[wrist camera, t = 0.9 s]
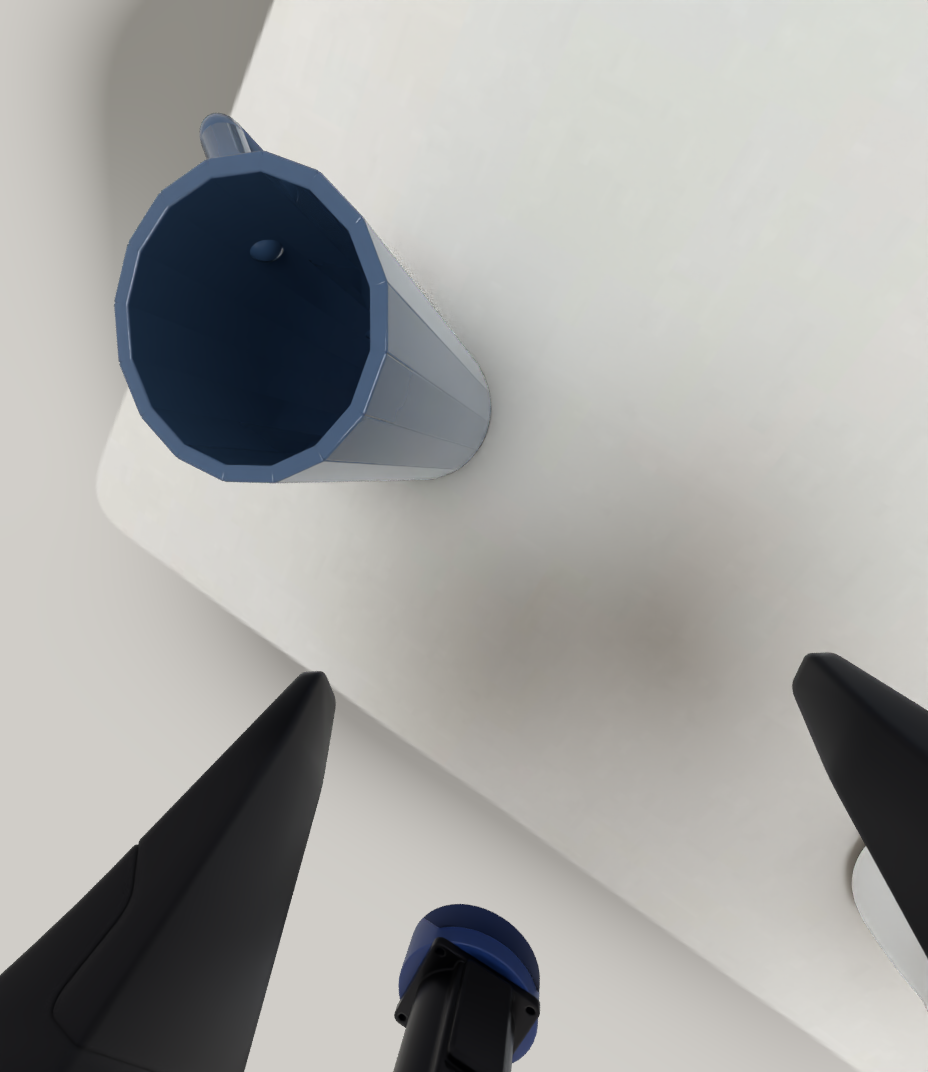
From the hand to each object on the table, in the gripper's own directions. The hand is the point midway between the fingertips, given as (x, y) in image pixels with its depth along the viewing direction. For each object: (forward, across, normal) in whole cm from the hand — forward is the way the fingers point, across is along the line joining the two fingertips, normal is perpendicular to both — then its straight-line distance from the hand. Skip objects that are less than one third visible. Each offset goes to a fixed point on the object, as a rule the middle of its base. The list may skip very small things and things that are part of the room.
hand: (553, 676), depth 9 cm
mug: (+17, +5, -1) cm, 18 cm away
